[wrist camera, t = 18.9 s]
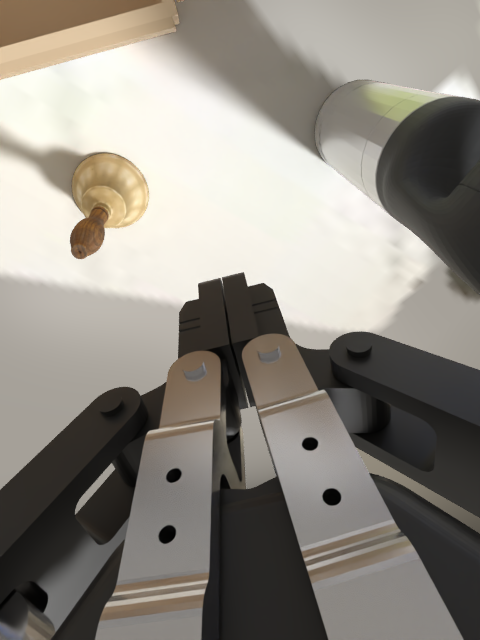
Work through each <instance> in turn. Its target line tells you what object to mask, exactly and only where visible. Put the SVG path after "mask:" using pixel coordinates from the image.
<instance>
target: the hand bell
mask: <svg viewBox="0 0 480 640" xmlns="http://www.w3.org/2000/svg"><path fill="white" fill-rule="evenodd" d="M72 193H73V197H74V200H75V202H76V204H77V206H78V207H79V209H80V210H81V211H82V213H83V214H84V215H85V217H86V218H85V219H83V220H81V221H80V222H79V223H78V224H77V225H76V226H75V227H74V229H73V231H72V233H71V237H70V243H71V252H72V255H73V256H74V257H75V258H77V259H84V258H86V257H87V256H89V255H91V254H93V253H95V252H96V251H97V250H98V249H99V248H100V247H101V245H102V243H103V240H104V235H105V230H104V228H121V227H126V226H129V225H131V224H133V223H135V222H136V221H137V220H139V219H140V218H141V217H142V215H143V214H144V212H145V210H146V208H147V205H148V201H149V191H148V186H147V183H146V181H145V179H144V177H143V175H142V173H141V172H140V170H139V169H138V168H137V167H136V166H135V165H134V164H133V163H131V162H130V161H128V160H127V159H125V158H123V157H120V156H118V155H114V154H107V153H103V154H96V155H93V156H90V157H88V158H86V159H85V160H84V161H82V162H81V163H80V164H79V166H78V167H77V168H76V170H75V172H74V175H73V178H72Z"/></svg>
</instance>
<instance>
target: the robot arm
mask: <svg viewBox="0 0 480 640" xmlns="http://www.w3.org/2000/svg"><path fill="white" fill-rule="evenodd" d="M315 141H316V146H317V149H318V151H319V154H320V156H321V157H322V158H323V160H324V161H325V162H326V163H327V164H328V165H330V166H331V167H332V168H333V169H334V170H336V171H337V172H338V173H339V174H340V175H341V176H343V177H344V178H345V179H346V180H348V181H349V182H350V183H351V184H353V185H354V186H355V187H356V188H357V189H359V190H360V191H361V192H362V193H364V194H365V195H366V196H367V197H368V198H370V199H371V200H372V201H373V202H375V203H376V204H377V205H378V206H380V207H381V208H382V209H383V210H385V211H386V212H387V213H388V214H389V215H391V216H392V217H393V218H395V219H396V220H397V221H399V222H400V223H401V224H403V225H404V226H405V227H407V228H408V229H409V230H411V231H412V232H413V233H414V234H415V235H417V236H418V237H419V238H420V239H421V240H422V241H423V242H424V243H425V244H426V245H427V246H429V247H430V248H431V249H432V250H433V251H434V252H435V254H436V255H437V256H438V257H439V258H440V259H441V260H442V261H443V262H444V263H445V264H446V265H447V266H448V267H449V268H450V269H451V270H452V271H453V272H454V273H455V274H456V275H458V276H459V277H460V278H461V279H462V280H463V281H464V282H465V283H466V284H468V285H469V286H470V287H471V288H472V289H473V290H474V291H475V292H477V293H478V294H479V295H480V101H479V100H476V99H470V98H465V97H458V96H453V95H448V94H442V93H436V92H430V91H425V90H419V89H414V88H408V87H403V86H398V85H392V84H387V83H382V82H377V81H371V80H356V81H352V82H348V83H346V84H344V85H343V86H341V87H339V88H338V89H337V90H335V91H334V92H333V93H332V94H331V95H330V96H329V97H328V99H327V100H326V101H325V103H324V104H323V106H322V108H321V109H320V112H319V114H318V117H317V120H316V126H315ZM222 281H223V284H222ZM222 281H221V278H218V279H214V280H210V281H206V282H202V283H199V284H198V289H199V299H196V300H192V301H188V302H186V303H185V304H184V306H183V308H182V309H181V311H180V312H179V347H178V348H179V349H178V360H176V362H174V363H173V365H172V366H171V367H170V369H169V372H168V377H167V382H165V383H164V384H163V385H161V386H160V387H158V388H156V389H154V390H152V391H150V392H148V393H146V394H144V395H142V396H140V394H139V393H138V391H136V390H135V389H133V388H130V387H119V388H115V389H112V390H109V391H107V392H105V393H103V394H102V395H100V396H99V397H98V398H96V399H95V400H94V401H93V402H92V403H91V404H90V405H89V406H88V407H87V408H86V409H85V410H84V411H83V412H82V413H81V414H80V415H79V416H77V417H76V418H75V419H74V420H73V421H72V422H71V423H70V424H69V425H68V426H67V427H66V428H65V429H64V430H63V431H62V432H61V433H60V434H58V435H57V436H56V437H55V438H54V439H53V440H52V441H51V442H50V443H49V444H48V445H47V446H46V447H45V448H44V449H43V450H42V451H41V452H40V453H38V455H36V456H35V457H34V458H33V459H32V460H31V461H30V462H29V463H28V464H27V465H26V466H25V467H24V468H23V469H22V470H21V471H20V472H19V473H17V474H16V476H14V477H13V478H12V479H11V480H10V481H9V482H8V483H7V484H6V485H5V486H4V487H3V488H2V489H1V490H0V640H480V534H479V533H478V532H476V531H475V530H473V529H471V528H470V527H468V526H467V525H465V524H463V523H462V522H460V521H459V520H457V519H456V518H454V517H452V516H451V515H449V514H448V513H446V512H444V511H443V510H441V509H440V508H438V507H436V506H435V505H433V504H432V503H430V502H428V501H427V500H425V499H424V498H422V497H421V496H419V495H417V494H416V493H414V492H413V491H411V490H409V489H408V488H406V487H404V486H403V485H401V484H398V483H396V482H394V481H392V480H390V479H387V478H385V477H381V476H379V475H375V474H371V473H369V472H368V470H367V468H366V466H365V464H364V463H363V461H362V459H361V457H360V455H359V453H358V451H357V449H356V447H357V448H358V449H360V450H362V451H364V452H365V453H367V454H369V455H371V456H372V457H374V458H376V459H378V460H380V461H381V462H383V463H385V464H386V465H388V466H390V467H392V468H393V469H395V470H397V471H399V472H400V473H402V474H404V475H406V476H407V477H409V478H411V479H413V480H414V481H416V482H418V483H420V484H422V485H424V486H425V487H427V488H428V489H430V490H432V491H434V492H435V493H437V494H439V495H441V496H443V497H444V498H446V499H448V500H450V501H451V502H453V503H455V504H457V505H458V506H460V507H462V508H464V509H465V510H467V511H469V512H471V513H473V514H474V515H476V516H478V517H479V518H480V370H478V369H475V368H472V367H469V366H466V365H463V364H460V363H457V362H454V361H452V360H449V359H445V358H443V357H440V356H437V355H434V354H431V353H428V352H426V351H423V350H420V349H417V348H414V347H411V346H408V345H405V344H402V343H400V342H396V341H394V340H391V339H388V338H385V337H382V336H379V335H376V334H373V333H369V332H351V333H347V334H344V335H342V336H340V337H338V338H337V339H336V340H334V341H333V343H332V344H331V346H330V349H329V350H314V349H307V348H303V347H301V346H299V345H297V344H295V343H294V341H293V340H292V339H291V338H290V336H289V334H288V331H287V328H286V325H285V323H284V320H283V317H282V314H281V311H280V308H279V306H278V303H277V301H276V297H275V294H274V292H273V289H271V288H270V287H268V286H267V285H266V284H264V283H261V284H257V285H253V286H249V287H247V283H246V279H245V275H244V272H242V273H238V274H234V275H230V276H226V277H222ZM223 287H224V288H223ZM245 390H246V392H245ZM246 393H247V396H248V400H249V403H250V407H252V406H256V409H257V413H258V416H259V420H260V424H261V427H262V430H263V434H264V437H265V441H266V444H267V447H268V451H269V454H270V457H271V461H272V464H273V467H274V471H275V474H276V477H275V478H273V479H271V480H269V481H267V482H265V483H263V484H261V485H259V486H257V487H254V488H251V489H246V475H245V455H244V436H243V430H242V426H241V413H240V409H244V408H248V403H247V398H246ZM111 463H112V464H113V465H114V467H115V470H114V471H113V472H112V474H111V475H110V476H109V477H108V478H107V479H106V480H105V482H104V483H103V484H102V485H101V486H100V487H99V489H98V490H97V491H96V492H95V493H94V494H93V495H92V497H91V498H90V499H89V500H88V501H87V502H86V504H85V505H84V506H83V507H82V508H81V509H80V510H79V511H78V513H77V514H76V515H75V508H76V505H77V503H78V501H79V499H80V498H81V497H82V495H83V494H84V493H85V492H86V491H87V490H88V489H89V487H90V486H91V485H92V484H93V483H94V482H95V481H96V480H97V478H98V477H99V476H100V475H101V474H102V473H103V471H104V470H105V469H106V468H107V467H108V466H109V465H110V464H111Z"/></svg>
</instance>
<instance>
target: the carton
mask: <svg viewBox="0 0 480 640" xmlns="http://www.w3.org/2000/svg"><path fill="white" fill-rule="evenodd" d="M178 24H179V18H178V13H177V9H176V5H175V1H174V0H0V80H1V79H5V78H9V77H12V76H16V75H20V74H23V73H27V72H30V71H34V70H38V69H41V68H45V67H49V66H52V65H56V64H60V63H63V62H67V61H70V60H74V59H78V58H81V57H85V56H89V55H92V54H96V53H100V52H103V51H107V50H110V49H114V48H118V47H121V46H125V45H129V44H132V43H136V42H139V41H143V40H147V39H150V38H154V37H158V36H161V35H165V34H169V33H172V32H176V27H175V25H178Z"/></svg>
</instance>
